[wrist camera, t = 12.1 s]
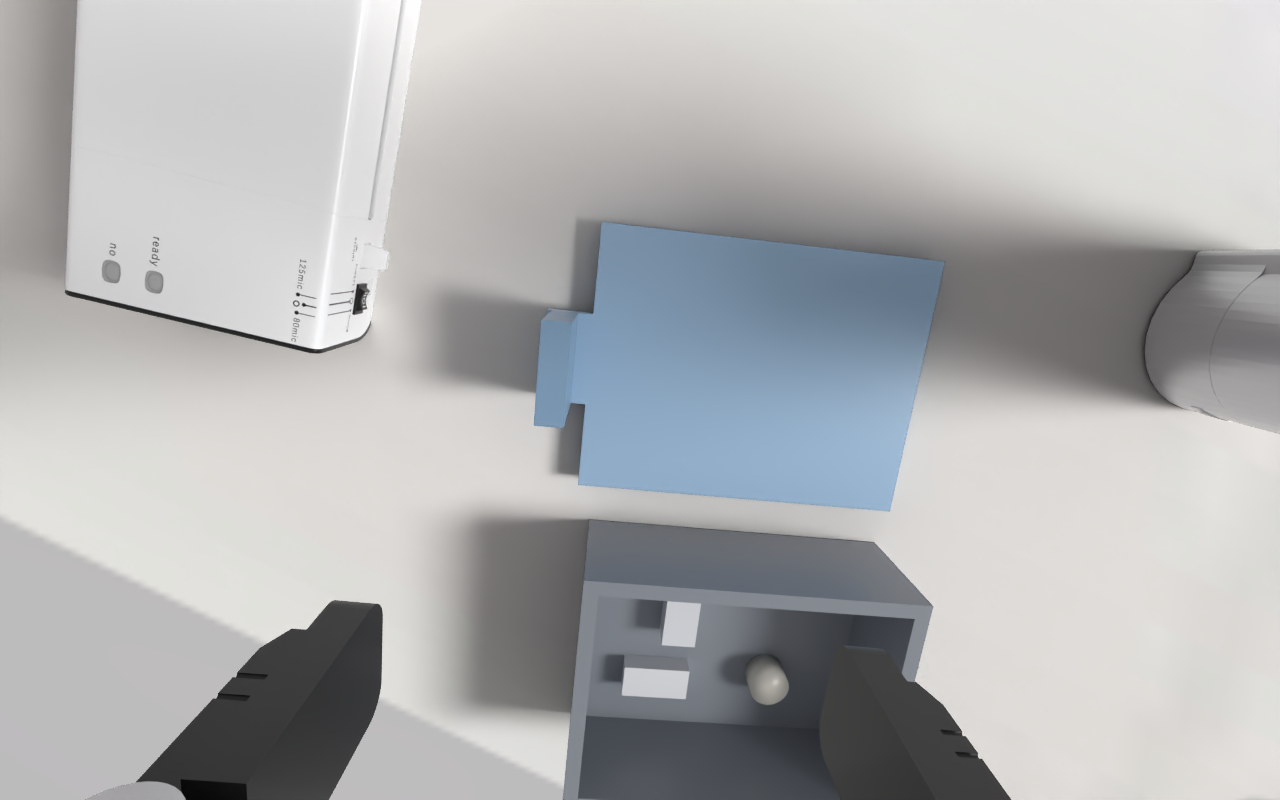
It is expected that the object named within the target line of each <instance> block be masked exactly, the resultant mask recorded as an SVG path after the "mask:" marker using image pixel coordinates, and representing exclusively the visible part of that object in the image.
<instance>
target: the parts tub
mask: <svg viewBox="0 0 1280 800" xmlns="http://www.w3.org/2000/svg"><path fill="white" fill-rule="evenodd" d="M932 609H933V606H932V605H931V603H930V602H929V601H928V600H927V599H926V598H925V597H924V596H923V595H922V594H921V593H920V591H919V590H918V589H917V588H916V587H915V586H914V585H913V584H912V583H911V582H910V581H909V579H908V578H907V577H906V576H905V575H904V574H903V573H902V572H901V571H900V570H899V569H898V568H897V566H896V565H895V564H894V563H893V562H892V561H891V560H890V559H889V558H888V557H887V556H886V554H885V553H884V552H883V551H882V550H881V549H880V548H879V547H878V546H877V545H876V544H875V543H874V542H861V541H849V540H837V539H824V538H812V537H799V536H787V535H775V534H762V533H750V532H737V531H725V530H713V529H700V528H688V527H675V526H663V525H651V524H638V523H626V522H613V521H601V520H589V529H588V539H587V550H586V560H585V571H584V581H583V592H582V602H581V613H580V623H579V634H578V644H577V654H576V665H575V675H574V686H573V696H572V707H571V717H570V728H569V739H568V750H567V760H566V771H565V782H564V793H563V800H840V797H839V795H838V792H837V790H836V787H835V785H834V782H833V780H832V777H831V775H830V772H829V770H828V767H827V765H826V762H825V760H824V757H823V754H822V749H821V744H820V734H819V725H820V717H821V712H822V707H823V703H824V698H825V694H826V689H827V685H828V681H829V676H830V672H831V667H832V663H833V658H834V655H835V652H836V650H837V648H838V647H839V646H841V645H842V646H854V647H866V648H878V649H884V650H885V651H886V652H887V653H888V654H889V655H890V657H891V658H892V660H893V661H894V663H895V664H896V665H897V667H898V668H899V670H900V671H901V673H902V674H903V676H904V677H905V679H906V680H907V681H908V682H914V681H915V677H916V673H917V669H918V665H919V661H920V657H921V653H922V649H923V645H924V641H925V637H926V633H927V629H928V625H929V621H930V617H931V613H932Z"/></svg>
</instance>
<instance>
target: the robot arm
mask: <svg viewBox="0 0 1280 800" xmlns="http://www.w3.org/2000/svg"><path fill="white" fill-rule="evenodd" d="M1145 360H1146V368H1147V371H1148V374H1149V376H1150V379H1151V382H1152V383H1153V385H1154V386H1155V388H1156V389H1157V391H1158V392H1159V393H1160V394H1161V395H1162V396H1163V397H1164V398H1166V399H1167V400H1168V401H1169V402H1171V403H1173V404H1175V405H1177V406H1179V407H1181V408H1184V409H1188V410H1191V411H1195V412H1199V413H1202V414H1205V415H1208V416H1211V417H1214V418H1218V419H1222V420H1226V421H1233V422H1237V423H1240V424H1244V425H1248V426H1252V427H1255V428H1259V429H1263V430H1267V431H1270V432H1274V433H1278V434H1280V250H1209V251H1199V252H1198V253H1197V255H1196V257H1195V260H1194V264H1193V266H1192V268H1191V270H1190V271H1189V272H1188V273H1187V274H1186V275H1185V276H1184V277H1183V278H1182V279H1181V280H1180V281H1179V282H1178V283H1177V284H1176V285H1175V286H1173V287H1172V288H1171V290H1170V291H1169V292H1168V293H1167V295H1166V296H1165V297H1164V299H1163V300H1162V301H1161V303H1160V304H1159V306H1158V308H1157V310H1156V312H1155V314H1154V316H1153V317H1152V320H1151V323H1150V326H1149V329H1148V332H1147V336H1146V344H1145ZM382 623H383V614H382V608H381V606H380V605H379V604H371V603H360V602H348V601H337V600H334V601H332V602H330V603H329V604H328V605H327V606H326V607H325V609H324V610H323V611H322V612H321V613H320V615H319V616H318V617H317V618H316V619H315V620H314V622H313V623H312V624H311V625H310V626H309V628H308V629H307V630H301V629H291V630H289V631H287V632H286V633H284V634H282V635H281V636H279V637H277V638H276V639H274V640H272V641H271V642H269V643H268V644H266V645H264V646H263V647H261V648H260V649H259V650H258V651H257V652H256V653H255V654H254V655H253V656H252V657H251V658H250V659H249V661H248V662H247V663H246V664H245V665H244V666H243V667H242V668H241V669H240V670H239V671H238V673H237V676H236V678H234V677H233V678H232V679H231V680H230V681H229V682H228V683H227V684H226V685H225V687H223V689H222V690H221V691H220V692H219V693H218V697H217V698H216V699H212V700H211V702H210V703H209V704H208V705H207V706H206V707H205V708H204V709H203V710H202V711H201V712H200V713H199V715H198V716H197V717H196V718H195V719H194V720H193V721H192V722H191V723H190V724H189V725H188V726H187V727H186V729H185V730H184V731H183V732H182V733H181V734H180V735H179V736H178V737H177V738H176V739H175V741H174V742H173V743H172V744H171V745H170V746H169V747H168V748H167V749H166V750H165V751H164V752H163V753H162V754H161V756H160V757H159V758H158V759H157V760H156V761H155V762H154V763H153V764H152V765H151V766H150V767H149V769H148V770H147V771H146V772H145V773H144V774H143V775H142V776H141V777H140V778H139V779H138V780H137V781H136V783H131V784H126V785H121V786H118V787H115V788H112V789H108V790H106V791H103V792H101V793H99V794H96V795H94V796H92V797H90V798H88V799H86V800H329V798H330V796H331V794H332V793H333V791H334V789H335V787H336V785H337V783H338V781H339V780H340V778H341V776H342V774H343V772H344V770H345V769H346V767H347V765H348V763H349V761H350V759H351V758H352V756H353V754H354V752H355V750H356V748H357V746H358V744H359V743H360V741H361V739H362V737H363V735H364V733H365V732H366V730H367V728H368V726H369V724H370V722H371V720H372V718H373V715H374V712H375V709H376V706H377V703H378V699H379V694H380V689H381V673H382ZM819 734H820V744H821V749H822V754H823V757H824V760H825V762H826V765H827V767H828V770H829V772H830V775H831V777H832V780H833V782H834V785H835V787H836V790H837V792H838V795H839V797H840V800H1011V799H1010V797H1009V796H1008V795H1007V793H1006V792H1005V790H1004V789H1003V788H1002V786H1001V785H1000V783H999V782H998V781H997V779H996V778H995V776H994V775H993V774H992V772H991V771H990V770H989V768H988V767H987V765H986V764H985V763H984V761H983V760H982V759H979V758H978V753H977V751H976V750H975V749H974V747H973V746H972V744H971V743H970V742H969V740H968V739H967V738H966V736H962V731H961V729H960V728H959V726H958V725H957V724H956V722H955V721H954V719H953V718H952V717H951V715H950V714H949V713H948V711H947V710H946V708H945V707H944V706H943V705H942V704H941V703H940V702H939V701H938V700H937V699H935V698H934V697H933V696H932V695H931V694H929V693H928V692H927V691H926V690H925V689H923V688H922V687H921V686H920V685H919V684H917V683H916V682H908V681H907V680H906V679H905V677H904V676H903V674H902V673H901V671H900V670H899V668H898V667H897V665H896V664H895V663H894V661H893V660H892V658H891V657H890V655H889V654H888V653H887V652H886V651H885V650H884V649H878V648H866V647H854V646H842V645H841V646H839V647H838V648H837V650H836V652H835V655H834V658H833V663H832V667H831V672H830V676H829V681H828V685H827V689H826V694H825V698H824V703H823V707H822V712H821V717H820V725H819Z"/></svg>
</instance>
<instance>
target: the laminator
mask: <svg viewBox="0 0 1280 800" xmlns="http://www.w3.org/2000/svg"><path fill="white" fill-rule="evenodd" d="M421 1H422V0H77V20H76V44H75V67H74V91H73V114H72V138H71V144H72V145H71V161H70V185H69V209H68V232H67V256H66V279H65V289H66V290H65V293H66V294H67V295H69V296H72V297H76V298H81V299H85V300H89V301H94V302H98V303H102V304H106V305H111V306H115V307H119V308H123V309H127V310H132V311H136V312H140V313H144V314H148V315H153V316H157V317H161V318H165V319H170V320H174V321H178V322H182V323H186V324H191V325H195V326H199V327H203V328H207V329H212V330H216V331H220V332H224V333H229V334H233V335H237V336H241V337H245V338H250V339H254V340H258V341H262V342H266V343H271V344H275V345H279V346H283V347H287V348H292V349H296V350H300V351H304V352H308V353H323V352H327V351H330V350H333V349H336V348H339V347H342V346H345V345H348V344H351V343H354V342H357V341H359V340H360V339H362V338H363V337H364V336H365V334H366V333H367V331H368V329H369V327H370V323H371V317H372V311H373V305H374V298H375V292H376V286H377V279H378V273H379V271H386V270H387V268H388V262H389V256H390V254H389V252H388V251H387V250H385V249H382V248H383V241H384V235H385V229H386V222H387V216H388V210H389V203H390V197H391V191H392V184H393V178H394V172H395V165H396V159H397V153H398V146H399V140H400V134H401V127H402V121H403V115H404V108H405V102H406V96H407V89H408V83H409V77H410V70H411V64H412V58H413V51H414V45H415V39H416V33H417V26H418V20H419V14H420V7H421Z"/></svg>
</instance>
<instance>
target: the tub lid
mask: <svg viewBox="0 0 1280 800" xmlns="http://www.w3.org/2000/svg"><path fill="white" fill-rule="evenodd" d="M944 264H945V261H936V260H928V259H919V258H910V257H902V256H893V255H884V254H876V253H867V252H858V251H850V250H841V249H832V248H824V247H815V246H806V245H798V244H789V243H780V242H772V241H763V240H754V239H746V238H737V237H728V236H720V235H711V234H702V233H694V232H685V231H676V230H668V229H659V228H650V227H642V226H633V225H624V224H616V223H607V222H602V224H601V235H600V246H599V257H598V268H597V279H596V291H595V302H594V313H588V312H579V311H569V310H560V309H550V308H548V309H547V312H546V316H545V317H544V318H542V319H541V329H540V343H539V357H538V372H537V386H536V401H535V415H534V426H545V427H556V428H564V425H565V421H566V418H567V415H568V411H569V408H570V404H571V403H577V404H585V413H584V424H583V436H582V447H581V458H580V469H579V480H578V485H586V486H598V487H609V488H621V489H633V490H645V491H656V492H668V493H680V494H692V495H703V496H715V497H727V498H739V499H751V500H762V501H774V502H786V503H798V504H809V505H821V506H833V507H845V508H857V509H868V510H880V511H890V508H891V503H892V499H893V494H894V490H895V485H896V481H897V476H898V472H899V467H900V463H901V458H902V454H903V449H904V445H905V440H906V436H907V431H908V427H909V422H910V418H911V413H912V409H913V404H914V400H915V395H916V391H917V386H918V382H919V377H920V373H921V368H922V364H923V359H924V355H925V350H926V346H927V341H928V337H929V332H930V328H931V323H932V319H933V314H934V310H935V305H936V301H937V296H938V292H939V287H940V283H941V278H942V273H943V269H944Z"/></svg>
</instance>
